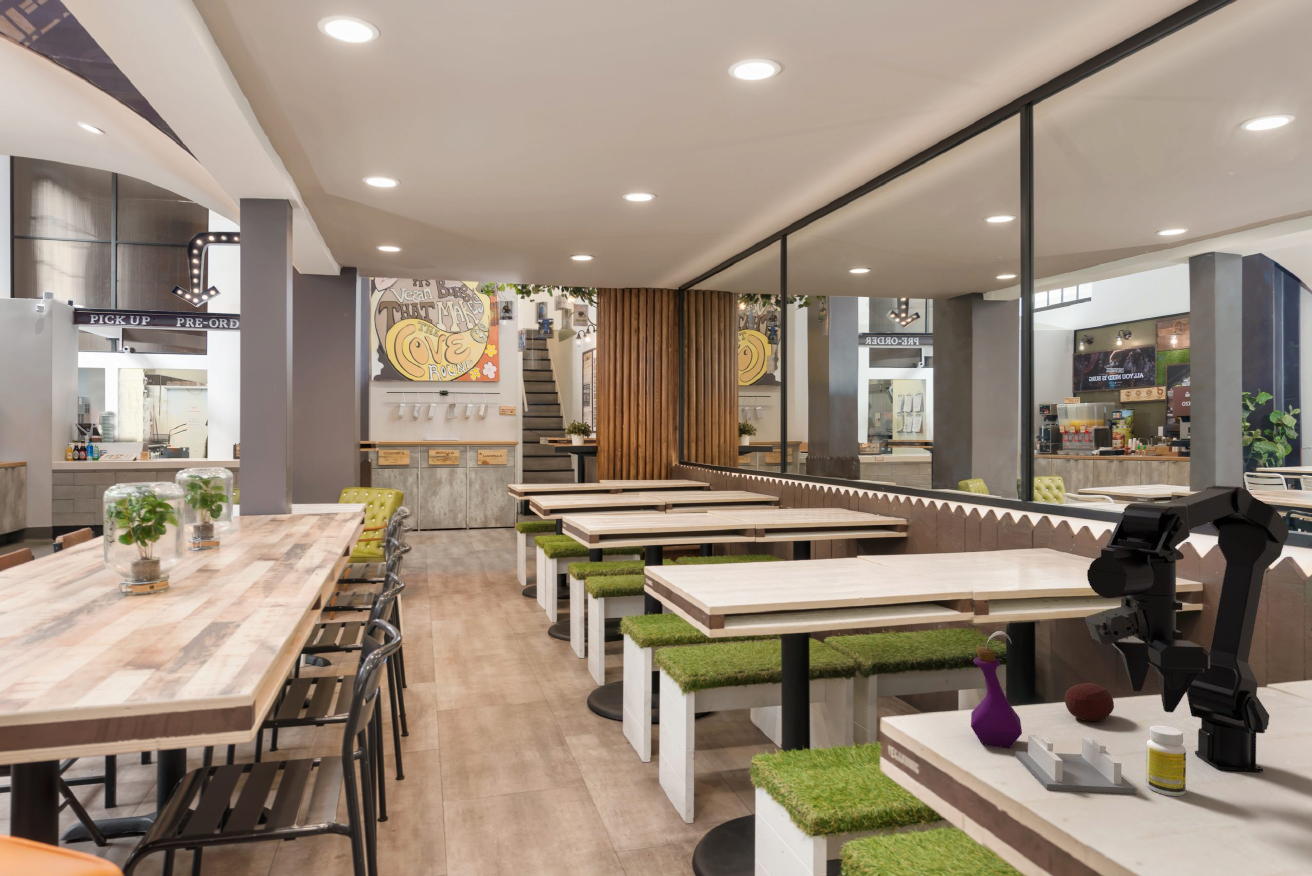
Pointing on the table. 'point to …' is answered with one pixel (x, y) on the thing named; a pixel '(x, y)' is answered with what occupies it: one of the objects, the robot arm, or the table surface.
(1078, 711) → the potato
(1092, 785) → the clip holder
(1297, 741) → the table surface
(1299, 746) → the table surface
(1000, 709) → the purple potion bottle
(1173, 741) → the supplement bottle
